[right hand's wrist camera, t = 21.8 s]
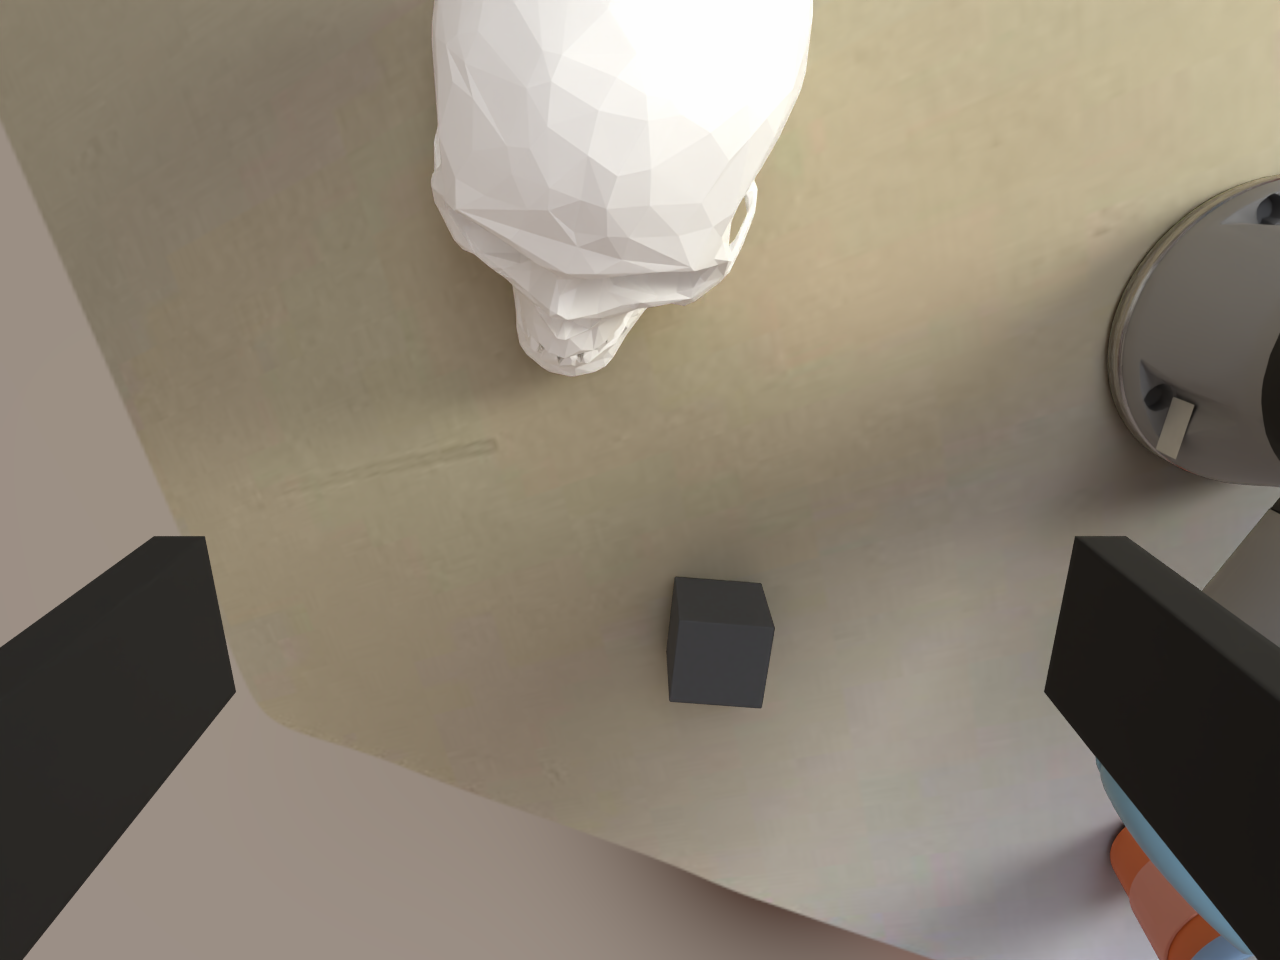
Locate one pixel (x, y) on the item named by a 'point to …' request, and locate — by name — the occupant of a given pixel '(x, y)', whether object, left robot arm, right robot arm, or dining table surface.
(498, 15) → the skull
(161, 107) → the dining table surface
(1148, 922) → the cup with straw
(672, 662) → the grey rubber block
